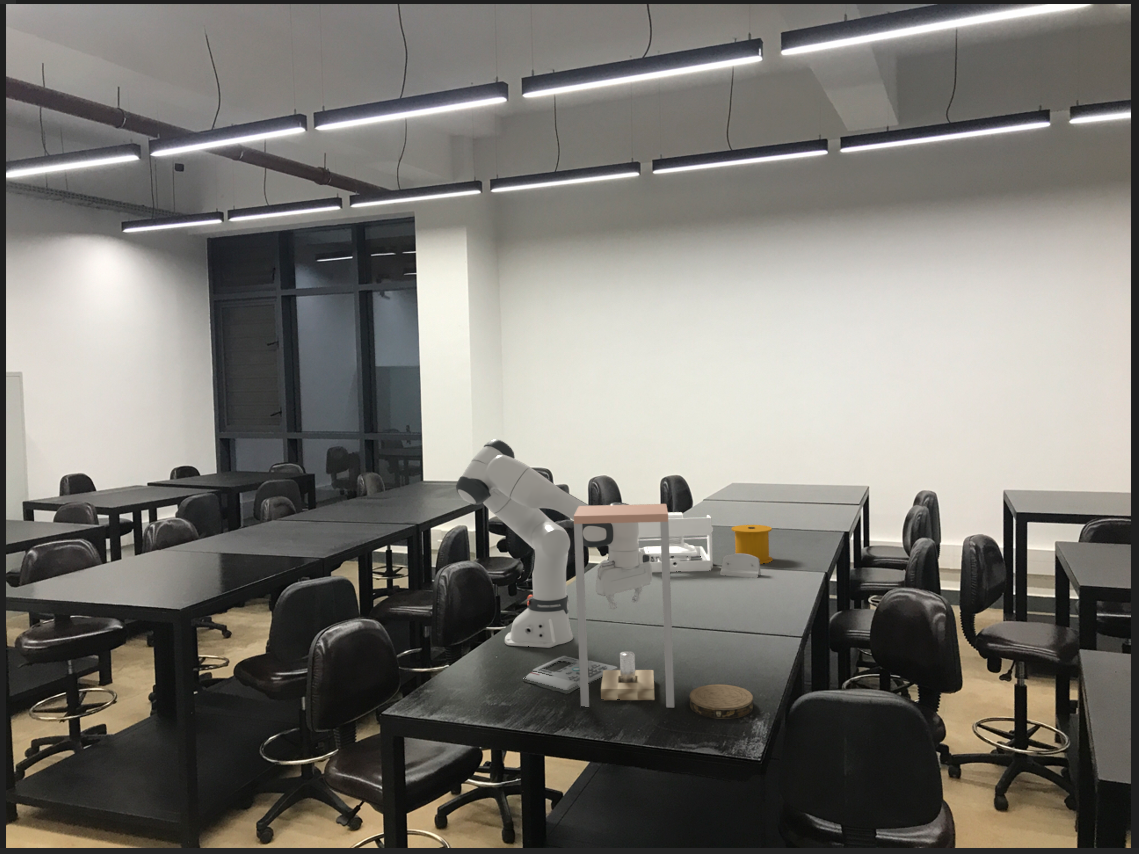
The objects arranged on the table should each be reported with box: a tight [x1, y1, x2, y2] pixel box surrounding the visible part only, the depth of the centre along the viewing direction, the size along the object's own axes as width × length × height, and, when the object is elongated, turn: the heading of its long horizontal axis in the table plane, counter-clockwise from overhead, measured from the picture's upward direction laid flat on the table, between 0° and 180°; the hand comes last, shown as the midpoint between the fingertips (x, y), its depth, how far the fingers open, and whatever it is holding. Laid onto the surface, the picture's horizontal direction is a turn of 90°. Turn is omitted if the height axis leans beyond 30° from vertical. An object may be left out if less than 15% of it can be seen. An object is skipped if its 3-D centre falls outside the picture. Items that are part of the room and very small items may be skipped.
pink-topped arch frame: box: [573, 503, 675, 708], centre depth 217 cm, size 24×17×50 cm
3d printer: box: [637, 511, 714, 573], centre depth 372 cm, size 35×32×25 cm
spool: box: [730, 524, 773, 565], centre depth 373 cm, size 18×18×15 cm
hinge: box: [719, 553, 761, 579], centre depth 347 cm, size 17×5×10 cm, turn 63°
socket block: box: [600, 669, 655, 701], centre depth 222 cm, size 14×14×3 cm
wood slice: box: [689, 683, 754, 720], centre depth 209 cm, size 16×16×3 cm
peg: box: [619, 651, 636, 683], centre depth 222 cm, size 4×4×10 cm
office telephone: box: [522, 655, 619, 690], centre depth 236 cm, size 23×3×20 cm
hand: (624, 605), depth 238 cm, fingers open, 8 cm apart
